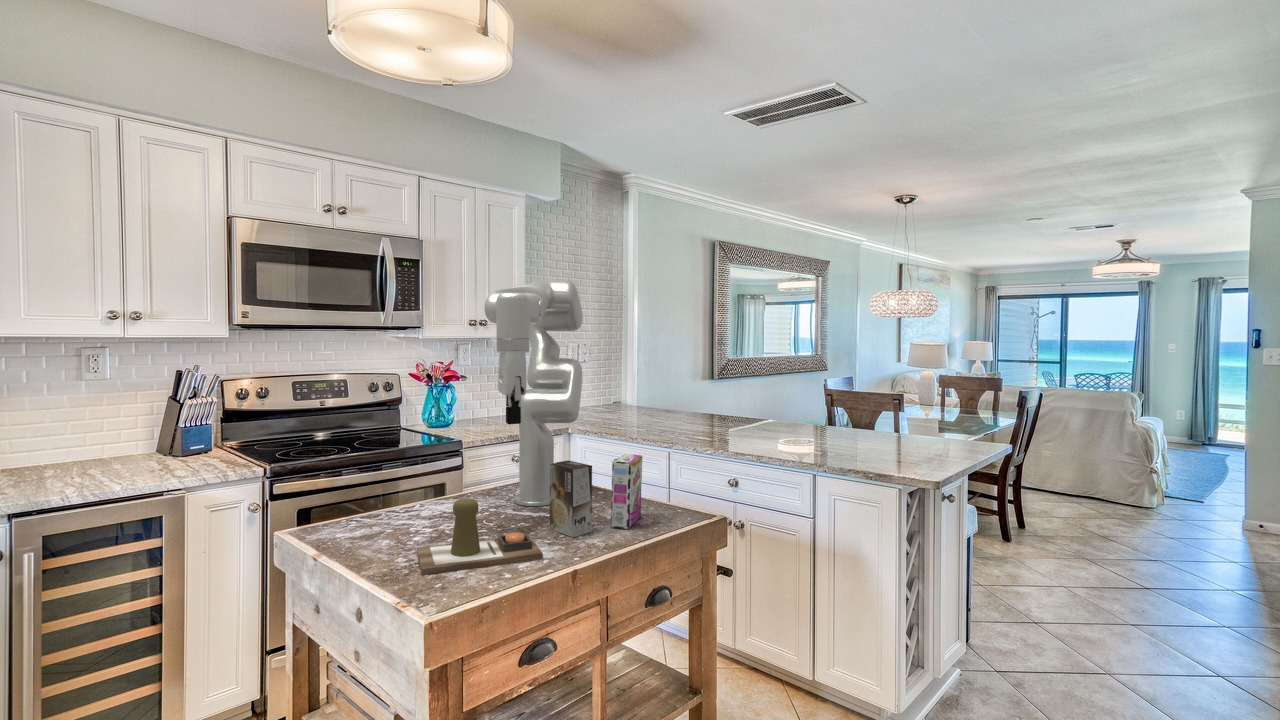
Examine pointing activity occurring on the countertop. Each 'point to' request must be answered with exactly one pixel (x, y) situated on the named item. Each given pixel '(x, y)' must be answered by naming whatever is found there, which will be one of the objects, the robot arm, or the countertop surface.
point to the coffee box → (571, 498)
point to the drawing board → (477, 555)
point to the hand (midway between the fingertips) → (513, 423)
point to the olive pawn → (465, 528)
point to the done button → (514, 537)
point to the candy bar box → (626, 491)
